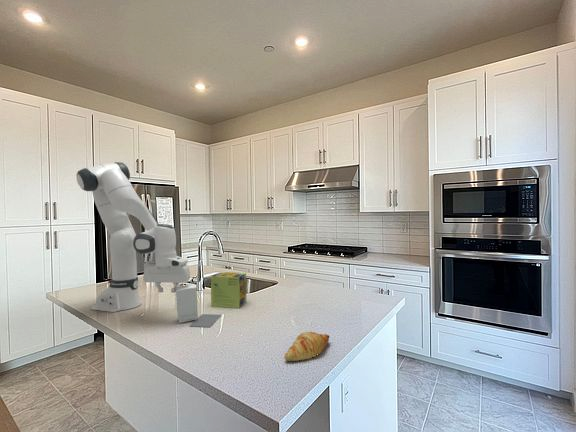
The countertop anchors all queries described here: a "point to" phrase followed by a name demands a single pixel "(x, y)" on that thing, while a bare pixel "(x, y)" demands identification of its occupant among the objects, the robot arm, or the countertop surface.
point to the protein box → (228, 289)
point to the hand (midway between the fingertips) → (167, 292)
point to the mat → (205, 320)
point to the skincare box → (186, 303)
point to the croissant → (307, 346)
